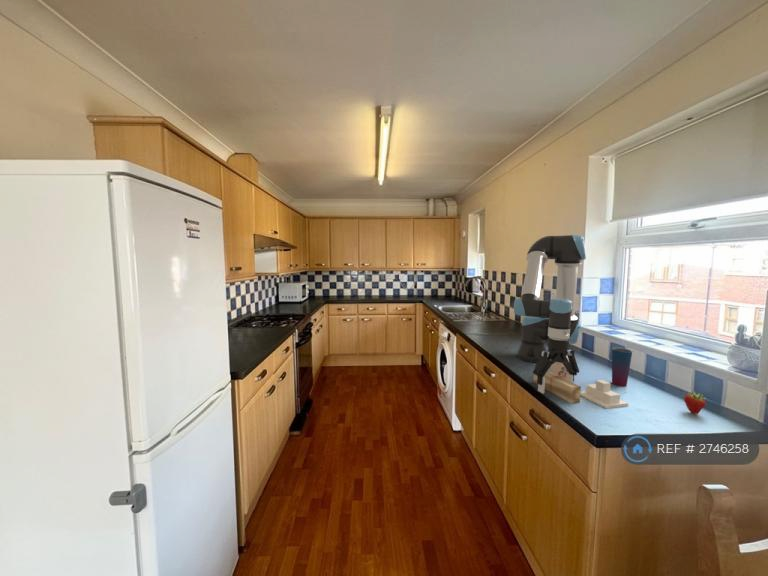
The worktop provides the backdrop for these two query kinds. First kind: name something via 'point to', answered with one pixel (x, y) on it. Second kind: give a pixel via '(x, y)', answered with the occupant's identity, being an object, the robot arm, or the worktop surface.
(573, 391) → the beam
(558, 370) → the teacup with lid
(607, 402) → the fulcrum
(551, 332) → the robot arm
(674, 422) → the worktop surface
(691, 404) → the fruit
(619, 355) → the cup
